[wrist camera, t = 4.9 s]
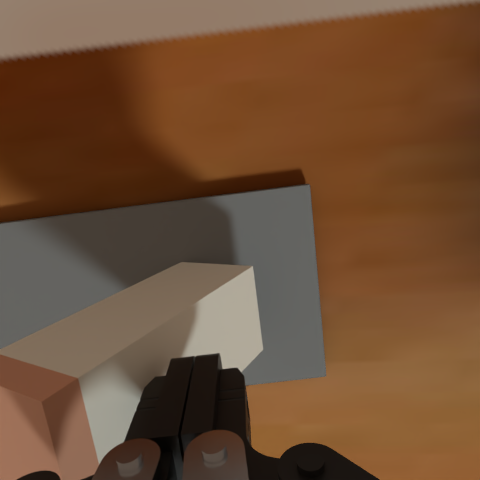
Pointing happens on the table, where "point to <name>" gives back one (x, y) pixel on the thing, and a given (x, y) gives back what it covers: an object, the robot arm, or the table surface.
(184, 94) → the table surface
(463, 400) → the table surface
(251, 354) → the cream block
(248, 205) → the slate mat
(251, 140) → the table surface
